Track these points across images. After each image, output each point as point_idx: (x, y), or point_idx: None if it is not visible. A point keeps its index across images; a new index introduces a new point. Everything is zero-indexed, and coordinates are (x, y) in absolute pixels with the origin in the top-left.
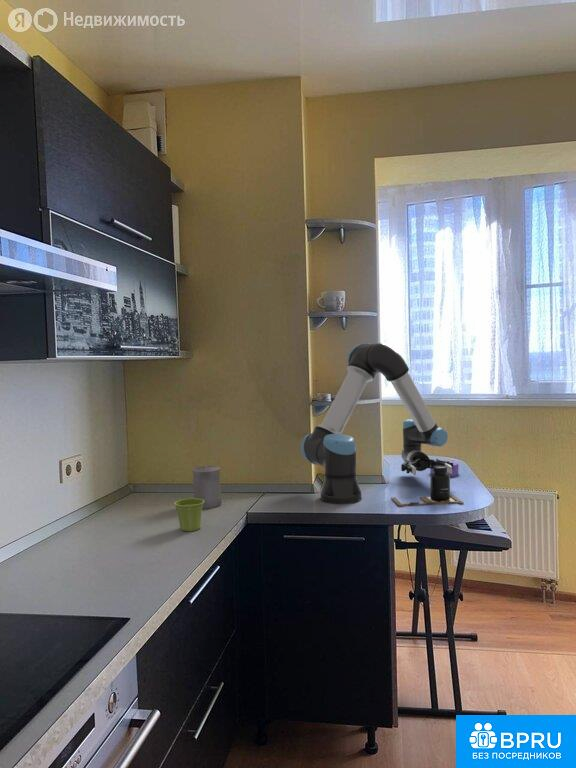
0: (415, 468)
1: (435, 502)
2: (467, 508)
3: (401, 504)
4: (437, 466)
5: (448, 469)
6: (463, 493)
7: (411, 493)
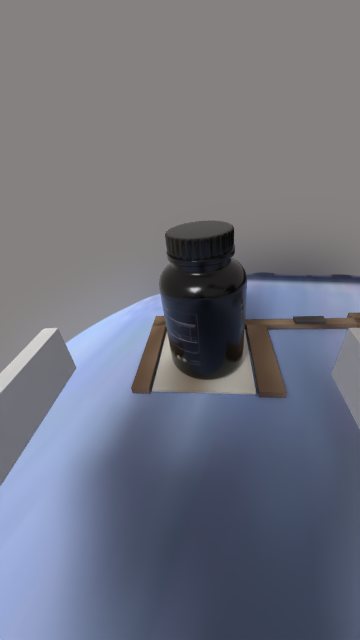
0: (352, 330)
1: None
2: None
3: (354, 317)
4: (211, 228)
5: (47, 379)
6: (55, 430)
7: (339, 506)
